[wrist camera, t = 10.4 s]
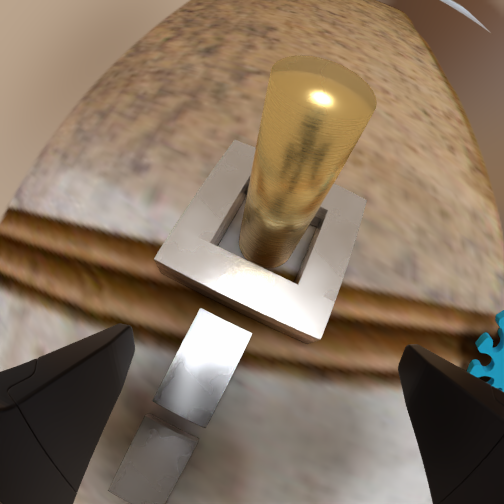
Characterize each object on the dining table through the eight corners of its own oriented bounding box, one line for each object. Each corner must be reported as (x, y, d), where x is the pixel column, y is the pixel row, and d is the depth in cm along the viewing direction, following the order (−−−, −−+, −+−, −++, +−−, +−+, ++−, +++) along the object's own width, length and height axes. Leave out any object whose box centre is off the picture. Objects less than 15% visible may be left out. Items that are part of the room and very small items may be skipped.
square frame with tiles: (211, 529, 12) (211, 547, 10) (69, 454, 13) (52, 463, 10) (380, 117, 27) (389, 101, 25) (293, 77, 28) (298, 60, 25)
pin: (268, 279, 19) (344, 136, 7) (227, 242, 19) (246, 74, 8) (303, 242, 20) (391, 97, 9) (264, 208, 21) (310, 48, 9)
